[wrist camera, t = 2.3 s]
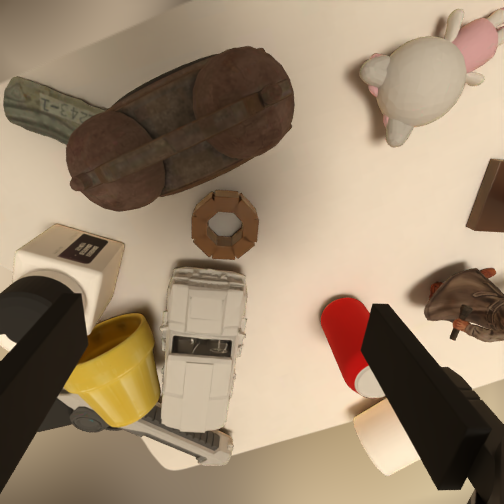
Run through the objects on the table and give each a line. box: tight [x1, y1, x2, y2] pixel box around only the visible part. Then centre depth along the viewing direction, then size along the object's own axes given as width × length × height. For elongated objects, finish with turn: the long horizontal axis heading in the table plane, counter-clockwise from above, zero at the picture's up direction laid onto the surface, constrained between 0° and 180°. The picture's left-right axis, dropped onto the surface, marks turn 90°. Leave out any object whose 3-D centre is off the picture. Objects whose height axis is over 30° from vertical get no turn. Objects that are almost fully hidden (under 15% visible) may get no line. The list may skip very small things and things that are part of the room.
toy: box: [360, 8, 504, 147], centre depth 30 cm, size 8×7×15 cm
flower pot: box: [64, 313, 161, 427], centre depth 38 cm, size 10×10×10 cm
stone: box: [4, 76, 105, 144], centre depth 32 cm, size 12×2×5 cm
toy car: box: [160, 267, 247, 433], centre depth 38 cm, size 10×20×10 cm, turn 172°
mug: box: [353, 398, 420, 476], centre depth 49 cm, size 8×10×12 cm
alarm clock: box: [66, 46, 295, 212], centre depth 24 cm, size 15×7×20 cm, turn 113°
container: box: [0, 224, 124, 351], centre depth 32 cm, size 8×8×13 cm
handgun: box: [37, 387, 234, 466], centre depth 47 cm, size 5×29×15 cm
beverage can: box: [321, 298, 385, 398], centre depth 38 cm, size 6×6×12 cm
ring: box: [192, 190, 259, 260], centre depth 36 cm, size 7×7×3 cm
